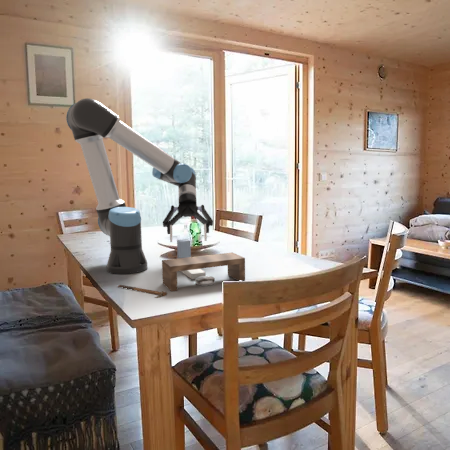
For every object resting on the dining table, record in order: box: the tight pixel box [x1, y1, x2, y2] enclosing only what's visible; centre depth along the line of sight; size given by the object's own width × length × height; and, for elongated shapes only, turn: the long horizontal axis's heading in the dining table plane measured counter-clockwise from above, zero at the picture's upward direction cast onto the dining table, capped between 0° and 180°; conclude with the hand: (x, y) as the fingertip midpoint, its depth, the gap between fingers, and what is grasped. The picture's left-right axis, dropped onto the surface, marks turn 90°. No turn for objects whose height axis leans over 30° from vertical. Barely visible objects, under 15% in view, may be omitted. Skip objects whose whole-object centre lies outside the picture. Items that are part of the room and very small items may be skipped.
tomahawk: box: [117, 284, 168, 299], centre depth 132 cm, size 20×7×1 cm, turn 58°
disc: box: [195, 275, 216, 287], centre depth 141 cm, size 6×6×2 cm
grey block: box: [176, 238, 207, 280], centre depth 154 cm, size 5×18×11 cm, turn 24°
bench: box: [161, 252, 246, 292], centre depth 142 cm, size 26×10×8 cm, turn 114°
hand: (188, 239), depth 166 cm, fingers open, 13 cm apart
